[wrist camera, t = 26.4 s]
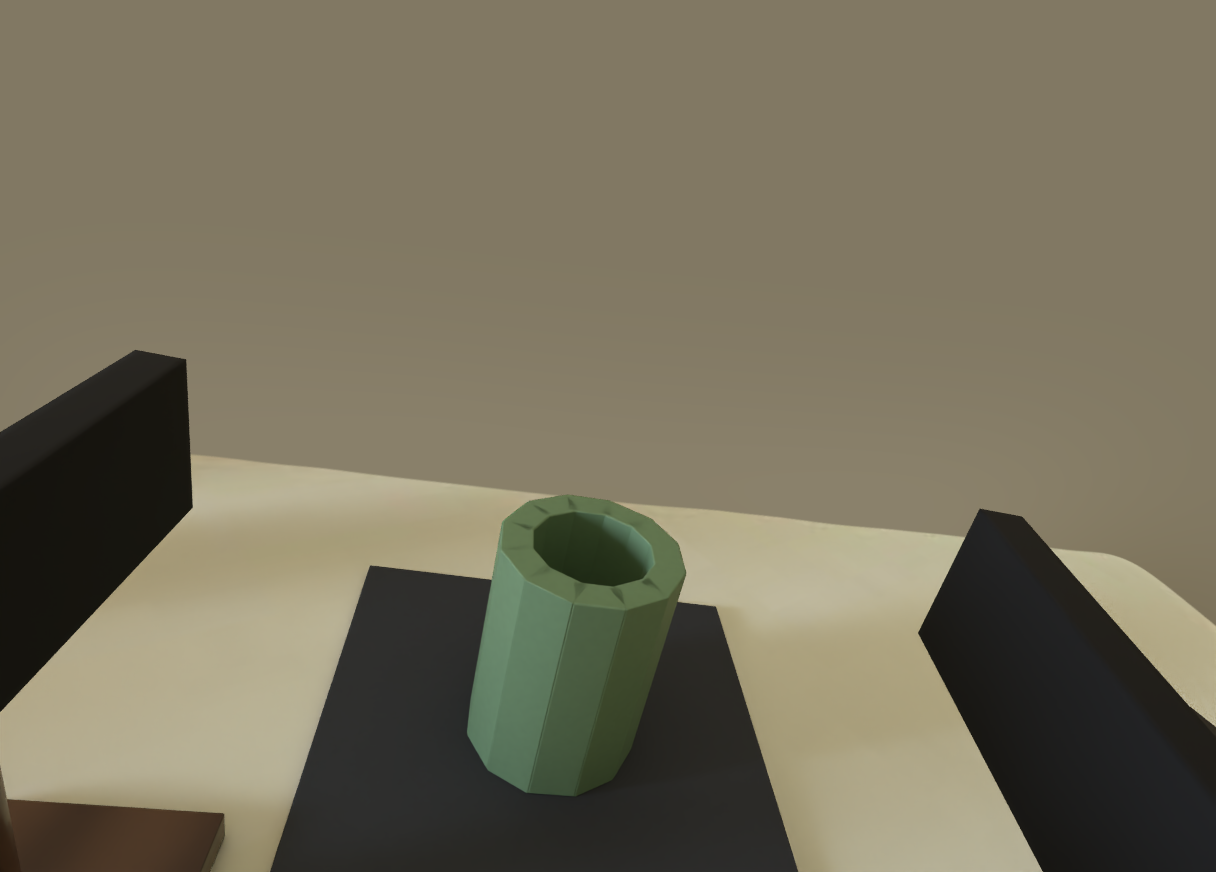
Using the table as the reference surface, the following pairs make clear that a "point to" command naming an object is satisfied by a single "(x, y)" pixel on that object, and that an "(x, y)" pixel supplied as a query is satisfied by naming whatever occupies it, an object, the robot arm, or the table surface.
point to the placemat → (495, 809)
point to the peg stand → (105, 838)
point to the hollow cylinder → (571, 641)
